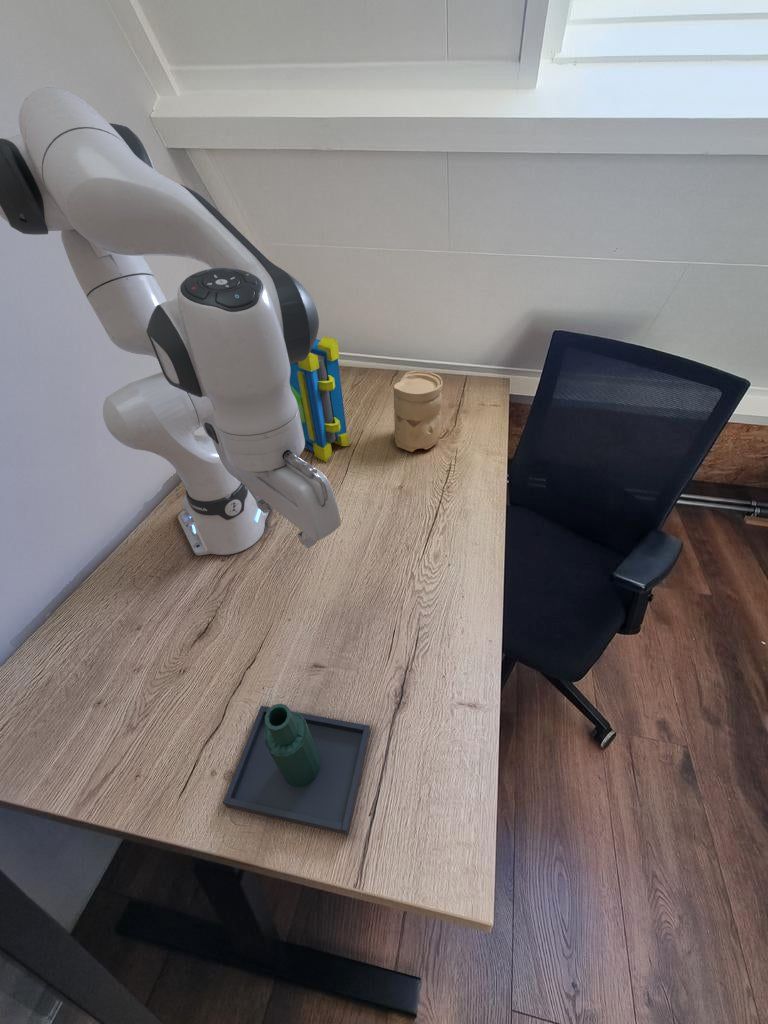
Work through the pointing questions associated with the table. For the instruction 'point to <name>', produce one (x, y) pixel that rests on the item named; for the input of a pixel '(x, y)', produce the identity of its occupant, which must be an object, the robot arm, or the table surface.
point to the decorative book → (320, 398)
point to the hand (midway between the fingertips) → (287, 525)
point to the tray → (316, 802)
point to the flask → (291, 745)
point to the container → (417, 410)
